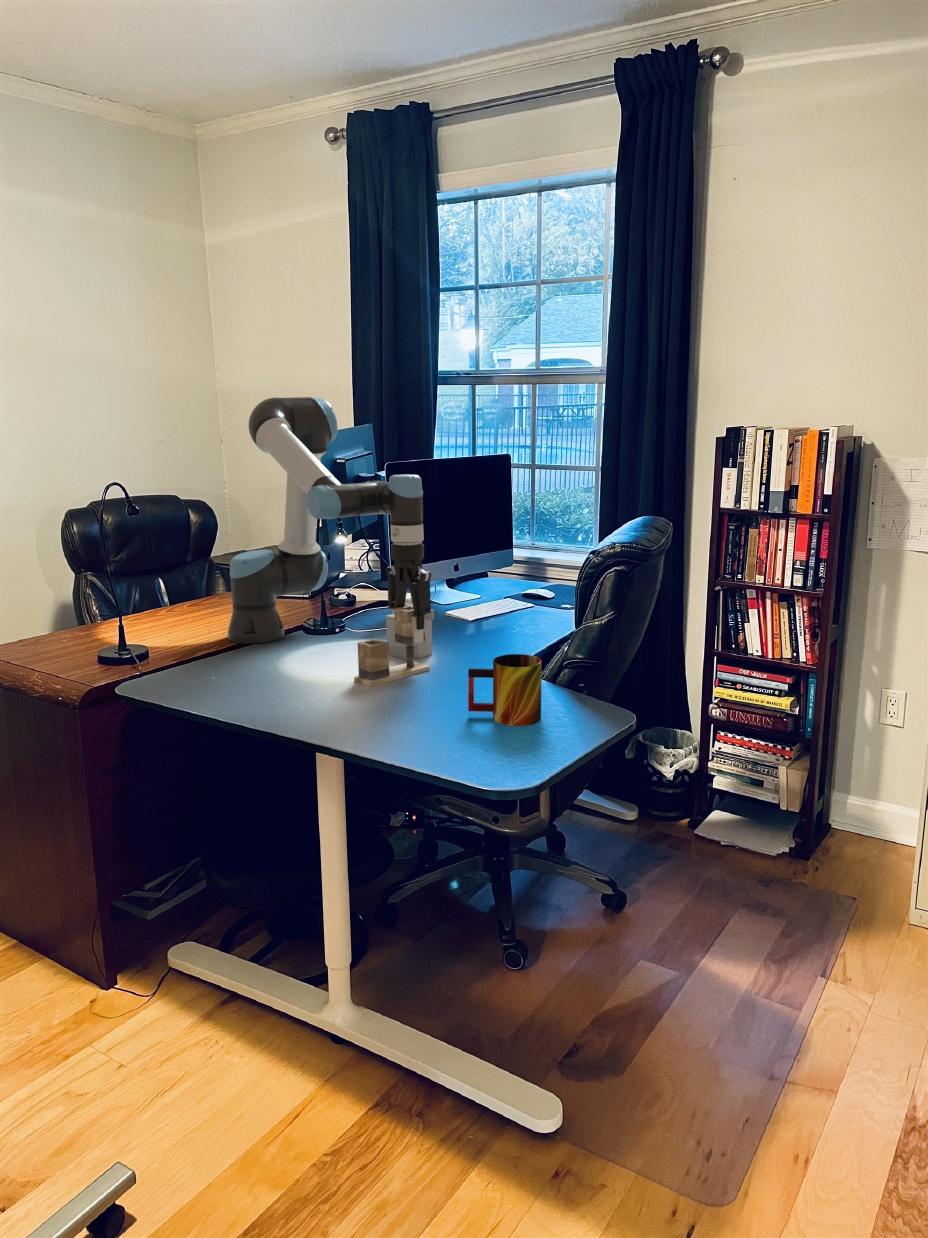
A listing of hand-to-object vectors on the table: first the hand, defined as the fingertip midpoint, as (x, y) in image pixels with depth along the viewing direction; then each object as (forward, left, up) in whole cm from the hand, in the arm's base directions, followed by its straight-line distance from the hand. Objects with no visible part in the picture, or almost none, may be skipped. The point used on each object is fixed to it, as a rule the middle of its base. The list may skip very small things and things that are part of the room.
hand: (410, 640), depth 212 cm
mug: (+39, -9, -8) cm, 41 cm away
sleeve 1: (0, -11, -6) cm, 13 cm away
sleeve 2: (0, 0, 0) cm, 0 cm away
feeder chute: (-13, +10, -7) cm, 18 cm away
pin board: (0, -5, -7) cm, 9 cm away
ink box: (-25, +20, -8) cm, 33 cm away
